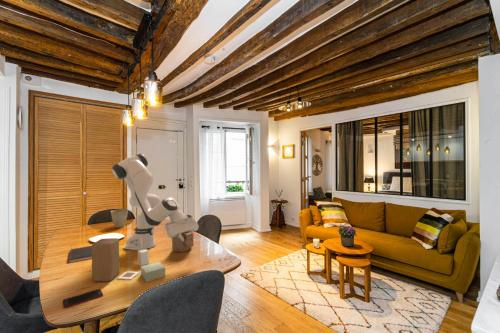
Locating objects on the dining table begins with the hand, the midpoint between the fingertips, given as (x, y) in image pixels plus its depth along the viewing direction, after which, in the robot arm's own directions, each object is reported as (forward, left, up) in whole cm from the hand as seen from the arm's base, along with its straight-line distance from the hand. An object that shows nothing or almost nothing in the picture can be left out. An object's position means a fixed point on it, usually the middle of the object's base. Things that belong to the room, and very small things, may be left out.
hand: (188, 239), depth 145 cm
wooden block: (-39, -19, -16) cm, 46 cm away
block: (-15, +26, -16) cm, 34 cm away
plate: (-85, +42, -16) cm, 96 cm away
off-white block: (-29, 0, -16) cm, 33 cm away
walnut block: (-1, 0, -4) cm, 4 cm away
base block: (-15, -14, -16) cm, 26 cm away
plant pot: (-100, +79, -16) cm, 128 cm away
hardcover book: (-78, +10, -17) cm, 80 cm away
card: (-28, -16, -16) cm, 36 cm away
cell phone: (-35, -39, -16) cm, 55 cm away
